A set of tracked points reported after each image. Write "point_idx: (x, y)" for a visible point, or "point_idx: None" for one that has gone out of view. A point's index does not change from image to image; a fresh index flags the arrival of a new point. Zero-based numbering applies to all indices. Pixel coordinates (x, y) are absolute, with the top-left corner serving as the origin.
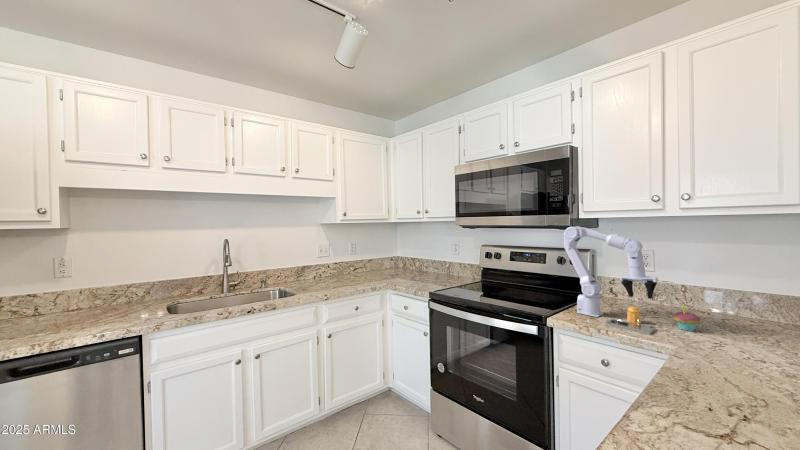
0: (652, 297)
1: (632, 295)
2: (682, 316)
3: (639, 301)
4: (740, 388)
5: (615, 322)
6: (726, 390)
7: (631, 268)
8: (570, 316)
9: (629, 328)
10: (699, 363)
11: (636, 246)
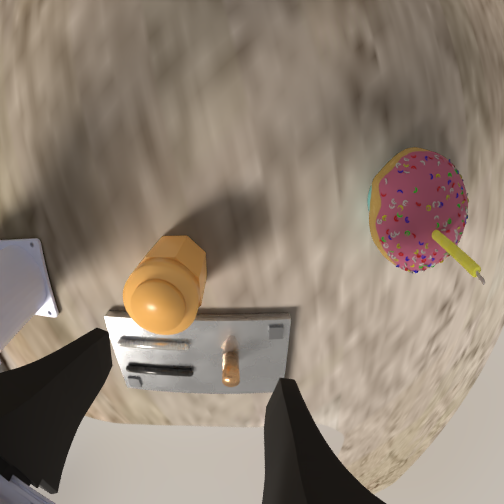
0: (296, 386)
1: (105, 347)
2: (418, 264)
3: None
4: (396, 458)
5: (146, 368)
6: (380, 470)
7: None
8: (28, 357)
9: (212, 391)
10: (373, 443)
11: None
